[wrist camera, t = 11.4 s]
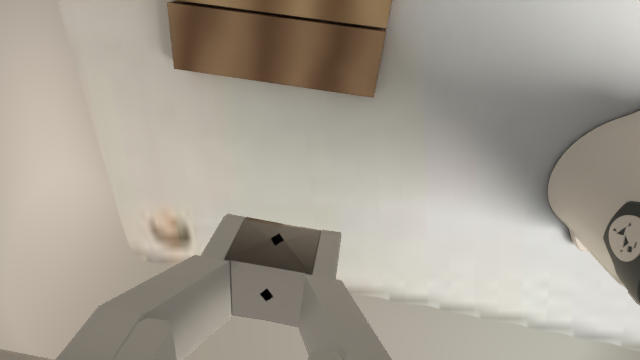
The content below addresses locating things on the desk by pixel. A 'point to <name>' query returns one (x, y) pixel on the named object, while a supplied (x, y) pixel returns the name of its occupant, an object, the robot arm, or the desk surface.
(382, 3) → the plank
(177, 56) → the laid board
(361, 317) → the robot arm
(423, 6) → the desk surface
